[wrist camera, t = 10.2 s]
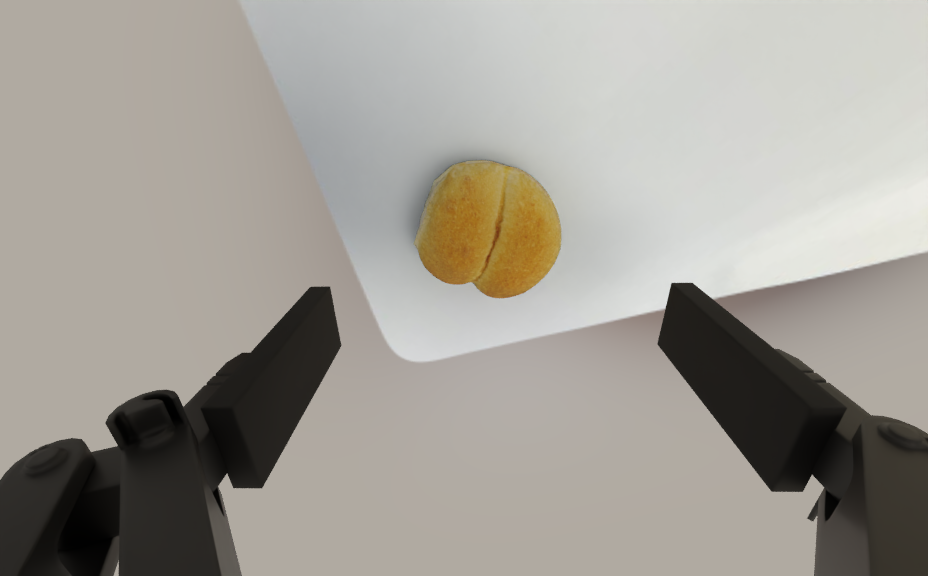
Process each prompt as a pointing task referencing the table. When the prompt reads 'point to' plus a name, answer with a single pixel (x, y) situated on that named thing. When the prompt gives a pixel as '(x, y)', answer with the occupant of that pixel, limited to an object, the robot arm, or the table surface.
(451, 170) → the bread roll
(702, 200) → the table surface
